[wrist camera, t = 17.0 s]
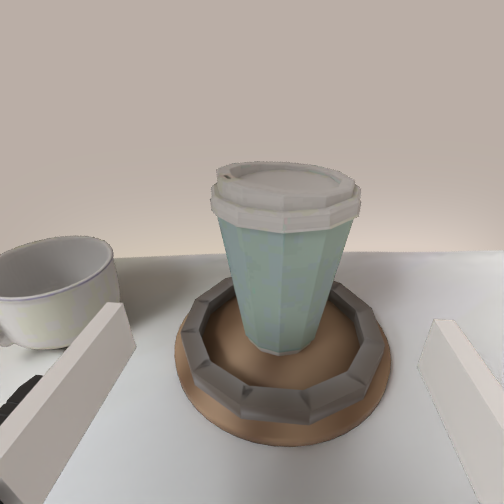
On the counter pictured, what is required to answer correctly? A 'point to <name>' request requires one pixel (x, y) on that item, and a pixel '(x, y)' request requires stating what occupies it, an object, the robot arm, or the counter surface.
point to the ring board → (283, 371)
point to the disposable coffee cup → (283, 245)
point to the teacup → (54, 290)
